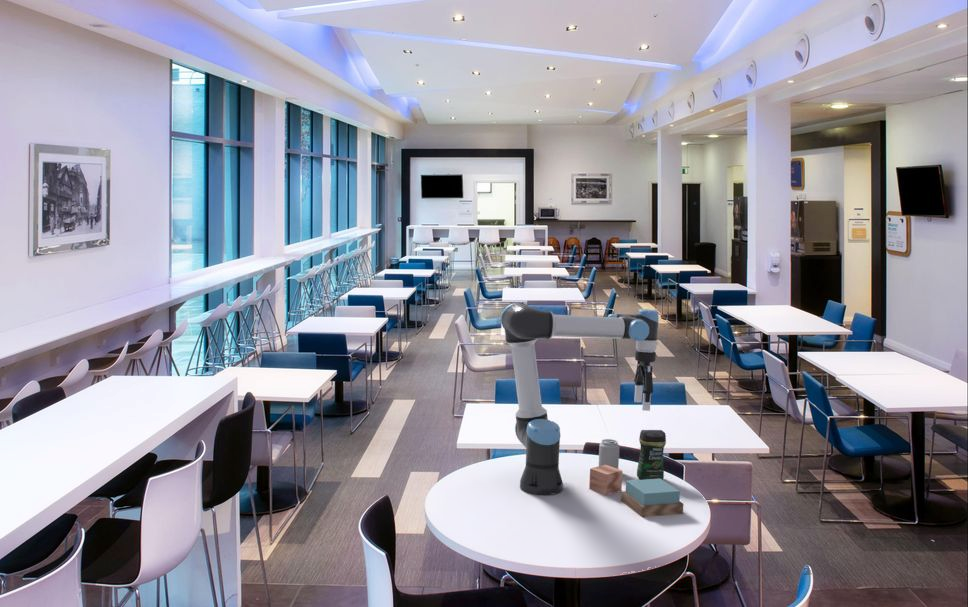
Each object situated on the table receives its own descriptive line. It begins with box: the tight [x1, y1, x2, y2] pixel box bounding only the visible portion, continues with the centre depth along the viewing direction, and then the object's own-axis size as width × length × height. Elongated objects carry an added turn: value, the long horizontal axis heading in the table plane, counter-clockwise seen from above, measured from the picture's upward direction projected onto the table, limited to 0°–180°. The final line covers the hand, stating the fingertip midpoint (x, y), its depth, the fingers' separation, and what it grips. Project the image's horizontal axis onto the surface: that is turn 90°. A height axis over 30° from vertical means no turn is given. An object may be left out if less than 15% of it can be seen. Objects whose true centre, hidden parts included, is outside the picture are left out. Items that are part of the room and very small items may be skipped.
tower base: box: [620, 490, 685, 518], centre depth 262 cm, size 15×15×4 cm
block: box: [588, 465, 623, 496], centre depth 277 cm, size 8×8×8 cm
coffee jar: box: [636, 429, 667, 481], centre depth 291 cm, size 10×8×19 cm
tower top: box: [625, 479, 681, 506], centre depth 261 cm, size 13×13×4 cm
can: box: [598, 438, 620, 469], centre depth 298 cm, size 8×8×12 cm
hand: (641, 406), depth 295 cm, fingers open, 13 cm apart
